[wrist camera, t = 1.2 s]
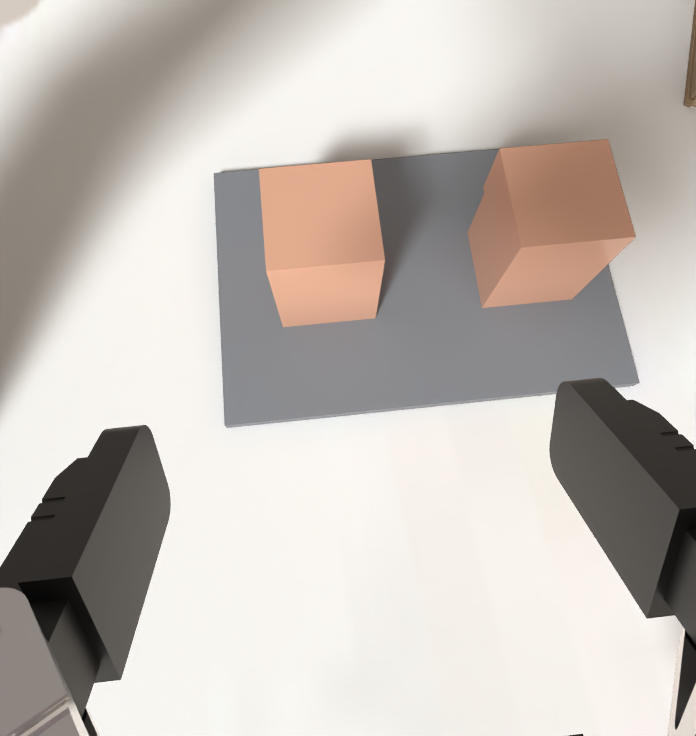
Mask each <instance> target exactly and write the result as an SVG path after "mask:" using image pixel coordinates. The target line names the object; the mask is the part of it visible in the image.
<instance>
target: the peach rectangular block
mask: <svg viewBox="0 0 696 736" xmlns="http://www.w3.org/2000/svg"><path fill="white" fill-rule="evenodd" d="M483 189H484V195H483V197H482V200H481V202H480V204H479V207H478V209H477V211H476V214H475V216H474V218H473V221H472V223H471V225H470V228H469V230H468V237H469V243H470V248H471V253H472V258H473V264H474V269H475V274H476V280H477V285H478V290H479V295H480V301H481V306H482V308H488V307H498V306H509V305H519V304H529V303H540V302H550V301H560V300H571V299H573V298H574V297H575V296H576V295H577V294H578V293H579V292H580V291H581V290H582V289H583V288H584V287H585V286H586V285H587V284H588V283H589V282H590V281H591V280H592V279H593V278H594V277H595V276H596V275H597V274H598V273H599V272H600V271H601V270H602V269H603V268H605V267H606V266H607V265H608V264H609V263H610V262H611V261H612V260H613V259H614V258H615V257H616V256H617V255H618V254H619V253H620V252H621V251H622V250H623V249H624V248H625V247H626V246H627V245H628V244H629V243H630V242H631V241H632V240H633V239H634V238H635V237H636V236H635V232H634V229H633V225H632V222H631V218H630V215H629V211H628V208H627V204H626V201H625V197H624V194H623V190H622V187H621V183H620V180H619V176H618V173H617V169H616V166H615V162H614V159H613V155H612V152H611V148H610V145H609V141H608V139H604V140H592V141H581V142H569V143H557V144H545V145H533V146H522V147H510V148H500V149H499V151H498V153H497V156H496V158H495V160H494V163H493V165H492V168H491V170H490V172H489V175H488V177H487V179H486V182H485V184H484V187H483Z"/></svg>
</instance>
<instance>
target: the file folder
mask: <svg viewBox="0 0 696 736" xmlns="http://www.w3.org/2000/svg"><path fill="white" fill-rule="evenodd" d="M684 105H686V106H688V107H690V106H695V107H696V0H695V8H694V18H693V27H692V36H691V46H690V55H689V64H688V74H687V83H686V93H685V102H684Z"/></svg>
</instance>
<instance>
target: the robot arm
mask: <svg viewBox="0 0 696 736" xmlns="http://www.w3.org/2000/svg"><path fill="white" fill-rule="evenodd" d="M693 446H694V445H693V444H692V443H690V442H689V441H688V440H687V439H686V438H685V437H684V436H683V435H682V434H680V435H679V434H678V430H677V429H676V428H674V427H673V426H672V425H671V424H670V423H669V422H668V421H667V420H666V419H665V418H664V417H663V416H662V415H661V414H660V413H658V412H656V411H654V410H652V409H650V408H648V407H646V406H644V405H642V404H640V403H638V402H637V401H635V400H626V399H625V398H624V397H623V396H622V395H621V394H620V393H619V392H618V391H617V390H616V389H615V388H614V387H613V386H612V385H611V384H610V383H609V382H608V381H606V380H605V379H603V378H593V379H583V380H574V381H565V382H562V383H561V384H560V385H559V387H558V389H557V394H556V401H555V409H554V417H553V424H552V432H551V439H550V459H551V464H552V467H553V470H554V473H555V475H556V477H557V479H558V480H559V482H560V483H561V485H562V486H563V488H564V489H565V491H566V493H567V494H568V496H569V497H570V499H571V500H572V502H573V504H574V505H575V507H576V508H577V510H578V511H579V513H580V515H581V516H582V518H583V519H584V521H585V522H586V524H587V525H588V527H589V529H590V530H591V532H592V533H593V535H594V536H595V538H596V540H597V541H598V543H599V544H600V546H601V547H602V549H603V551H604V552H605V554H606V555H607V557H608V558H609V560H610V562H611V563H612V565H613V566H614V568H615V569H616V571H617V572H618V574H619V576H620V577H621V579H622V580H623V582H624V583H625V585H626V587H627V588H628V590H629V591H630V593H631V594H632V596H633V598H634V599H635V601H636V602H637V604H638V605H639V607H640V608H641V610H642V612H643V613H644V615H645V616H646V618H655V617H663V616H672V615H675V616H676V617H677V619H678V620H679V621H680V623H681V624H682V626H683V629H682V632H681V635H680V639H679V645H678V653H677V661H676V669H675V678H674V686H673V694H672V703H671V711H670V719H669V728H668V736H696V449H694V447H693ZM169 516H170V492H169V487H168V483H167V480H166V477H165V474H164V470H163V467H162V464H161V461H160V457H159V454H158V451H157V448H156V445H155V441H154V438H153V435H152V432H151V430H150V429H149V427H148V426H146V425H140V426H131V427H121V428H112V429H105V430H104V431H103V432H102V433H101V435H100V436H99V438H98V440H97V442H96V443H95V445H94V447H93V449H92V451H91V452H90V454H89V456H88V457H86V458H77V459H76V460H75V461H74V462H73V463H72V464H71V465H69V466H68V467H67V468H66V469H65V470H64V471H62V472H61V473H60V474H59V475H58V476H57V477H56V478H55V479H54V481H53V482H52V484H51V485H50V487H49V489H48V490H47V492H46V494H45V495H44V497H43V498H42V503H40V504H39V505H38V507H37V508H36V510H35V512H34V513H33V515H32V516H31V522H28V523H27V525H26V526H25V528H24V529H23V531H22V533H21V534H20V536H19V538H18V539H17V541H16V542H15V544H14V546H13V547H12V549H11V551H10V552H9V554H8V556H7V557H6V559H5V560H4V562H3V564H2V565H1V567H0V736H100V735H99V732H98V730H97V728H96V726H95V723H94V721H93V719H92V717H91V714H90V712H89V711H88V709H87V707H86V705H87V702H88V699H89V696H90V693H91V690H92V687H93V684H94V683H97V682H106V681H114V680H121V677H122V674H123V671H124V667H125V664H126V661H127V657H128V654H129V651H130V647H131V644H132V641H133V637H134V634H135V631H136V627H137V624H138V620H139V617H140V614H141V610H142V607H143V604H144V600H145V597H146V594H147V590H148V587H149V584H150V580H151V577H152V574H153V570H154V567H155V564H156V560H157V557H158V554H159V550H160V547H161V544H162V540H163V537H164V534H165V530H166V527H167V524H168V520H169ZM570 736H583V734H578V735H570Z"/></svg>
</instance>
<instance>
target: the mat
mask: <svg viewBox="0 0 696 736" xmlns="http://www.w3.org/2000/svg"><path fill="white" fill-rule="evenodd" d="M498 151H499V149H492V150H480V151H469V152H457V153H445V154H433V155H421V156H410V157H398V158H386V159H374V160H371V163H372V170H373V177H374V184H375V192H376V199H377V206H378V213H379V220H380V227H381V235H382V242H383V249H384V256H385V264H384V270H383V276H382V282H381V288H380V294H379V300H378V307H377V313H376V318H374V319H363V320H353V321H343V322H332V323H322V324H312V325H301V326H291V327H283V325H282V322H281V319H280V315H279V312H278V309H277V305H276V302H275V299H274V296H273V292H272V289H271V286H270V282H269V279H268V276H267V273H266V263H265V249H264V235H263V221H262V207H261V193H260V178H259V169H256V170H244V171H233V172H221V173H214V190H215V213H216V236H217V259H218V282H219V305H220V328H221V351H222V373H223V396H224V419H225V426H226V427H227V428H230V427H239V426H249V425H259V424H268V423H278V422H288V421H297V420H307V419H317V418H326V417H336V416H346V415H355V414H365V413H375V412H384V411H394V410H404V409H413V408H423V407H433V406H442V405H452V404H462V403H471V402H481V401H491V400H500V399H510V398H520V397H529V396H539V395H549V394H557V389H558V387H559V385H560V384H561V383H562V382H565V381H574V380H583V379H593V378H603V379H605V380H606V381H608V382H609V383H610V384H611V385H612V386H613V387H614V388H616V387H626V386H634V385H636V384H638V383H639V379H638V375H637V371H636V368H635V364H634V360H633V356H632V353H631V349H630V345H629V341H628V338H627V334H626V330H625V326H624V323H623V319H622V315H621V311H620V308H619V304H618V300H617V296H616V293H615V289H614V285H613V281H612V278H611V274H610V270H609V266H608V265H607V266H606V267H605V268H603V269H602V270H601V271H600V272H599V273H598V274H597V275H596V276H595V277H594V278H593V279H592V280H591V281H590V282H589V283H588V284H587V285H586V286H585V287H584V288H583V289H582V290H581V291H580V292H579V293H578V294H577V295H576V296H575V297H574V298H573V299H571V300H560V301H550V302H540V303H529V304H519V305H509V306H498V307H488V308H482V306H481V301H480V295H479V290H478V285H477V280H476V274H475V269H474V264H473V258H472V253H471V248H470V243H469V237H468V230H469V228H470V225H471V223H472V221H473V218H474V216H475V214H476V211H477V209H478V207H479V204H480V202H481V200H482V197H483V195H484V189H483V187H484V184H485V182H486V179H487V177H488V175H489V172H490V170H491V168H492V165H493V163H494V160H495V158H496V156H497V153H498Z"/></svg>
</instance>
